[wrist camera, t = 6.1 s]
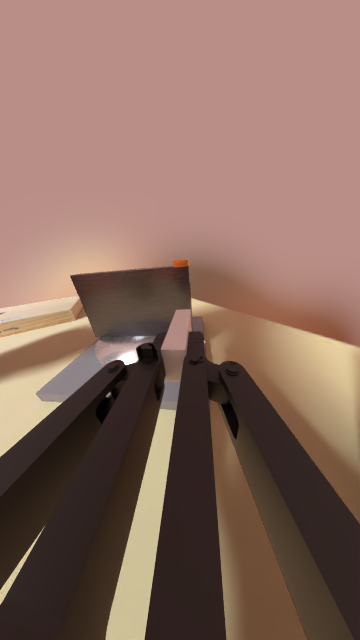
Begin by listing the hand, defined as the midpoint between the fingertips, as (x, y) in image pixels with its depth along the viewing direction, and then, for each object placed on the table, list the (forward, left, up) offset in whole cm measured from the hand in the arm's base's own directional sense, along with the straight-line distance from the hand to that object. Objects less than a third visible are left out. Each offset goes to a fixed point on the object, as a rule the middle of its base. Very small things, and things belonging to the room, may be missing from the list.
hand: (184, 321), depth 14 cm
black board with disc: (-9, +7, -8) cm, 14 cm away
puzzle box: (-60, +22, -10) cm, 65 cm away
